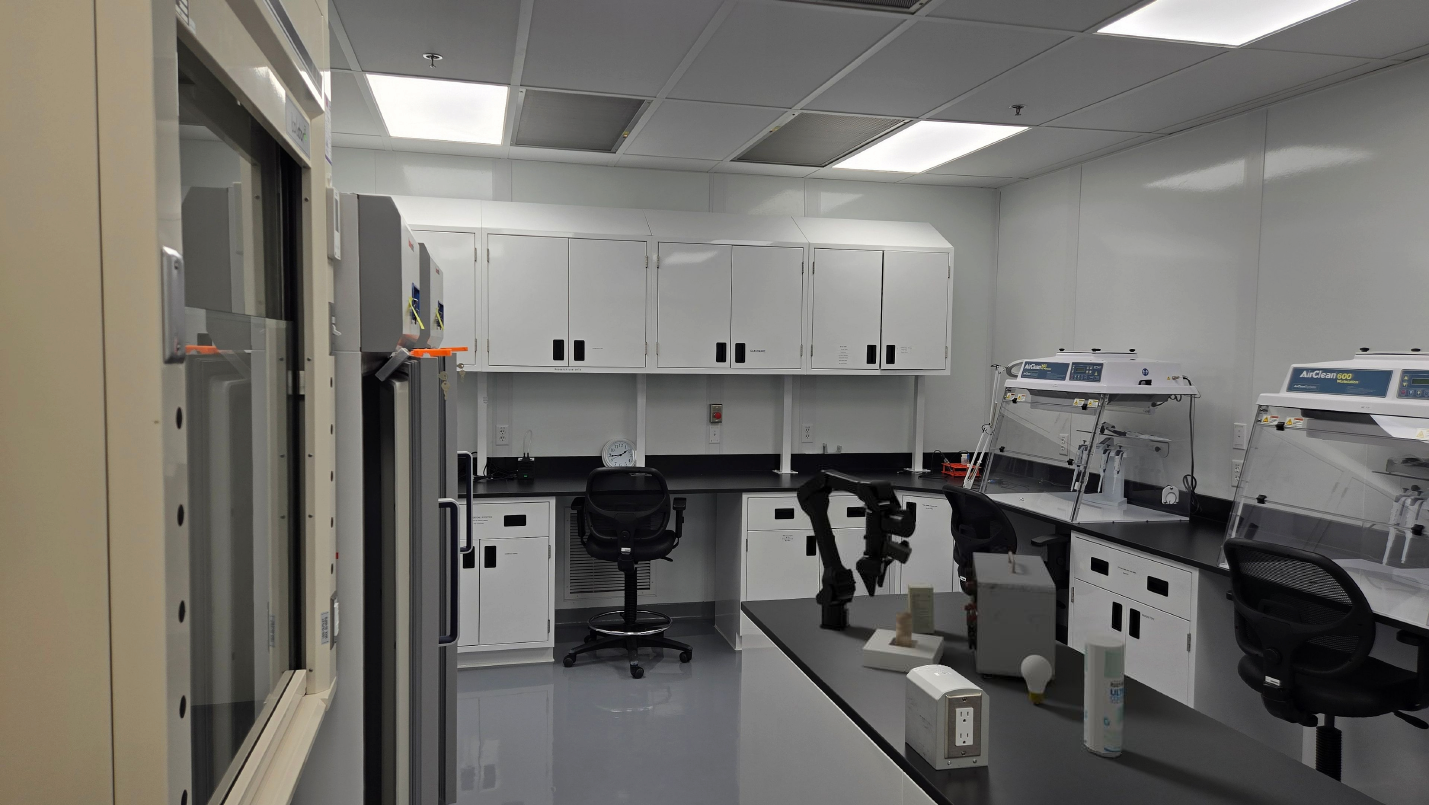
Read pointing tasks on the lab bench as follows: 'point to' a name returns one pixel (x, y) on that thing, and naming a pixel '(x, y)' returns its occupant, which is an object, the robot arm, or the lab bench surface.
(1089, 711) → the spray can
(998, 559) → the vintage electronic device
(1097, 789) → the lab bench surface
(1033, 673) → the light bulb
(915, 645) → the socket block
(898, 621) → the wooden peg
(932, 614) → the skincare box
